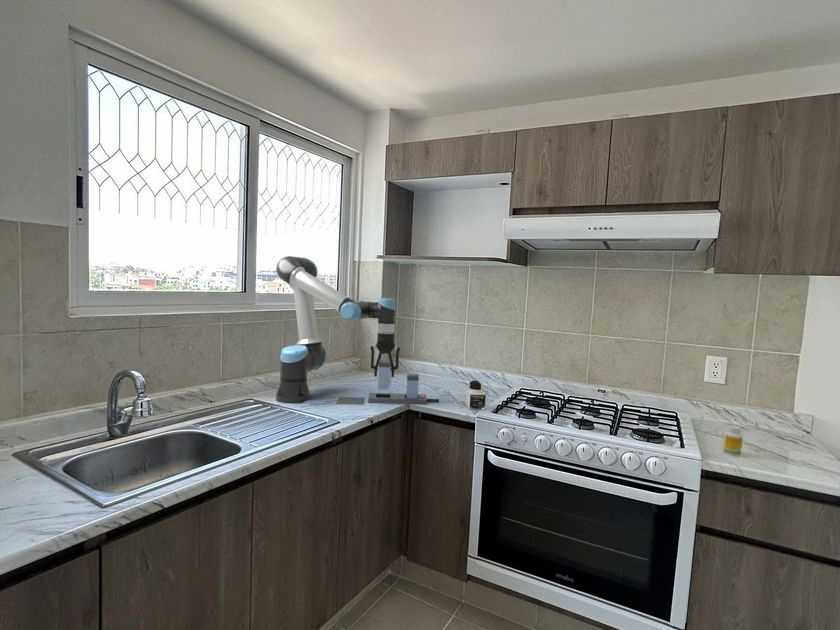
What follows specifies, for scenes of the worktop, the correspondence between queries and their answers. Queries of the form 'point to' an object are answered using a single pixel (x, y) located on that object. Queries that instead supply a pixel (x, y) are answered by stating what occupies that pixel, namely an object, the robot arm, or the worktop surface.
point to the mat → (350, 400)
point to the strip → (398, 399)
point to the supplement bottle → (732, 441)
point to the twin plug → (412, 386)
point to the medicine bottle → (475, 395)
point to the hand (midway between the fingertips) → (383, 383)
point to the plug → (384, 375)
